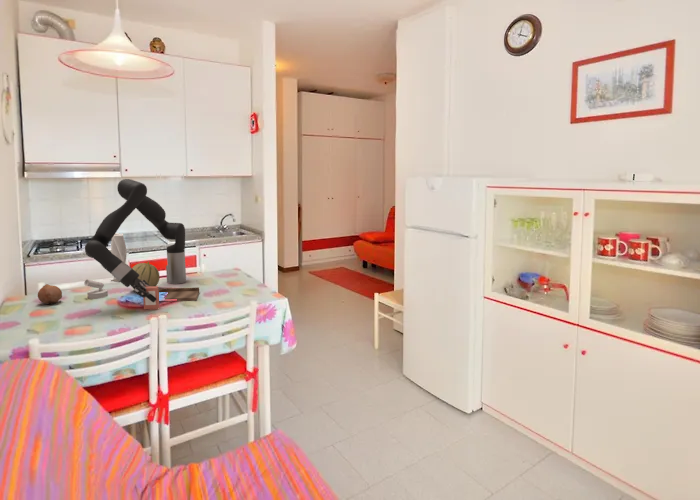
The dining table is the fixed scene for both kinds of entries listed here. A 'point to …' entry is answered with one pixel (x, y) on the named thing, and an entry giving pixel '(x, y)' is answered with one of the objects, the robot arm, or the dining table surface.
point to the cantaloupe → (147, 273)
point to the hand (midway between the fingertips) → (155, 299)
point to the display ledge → (182, 293)
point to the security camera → (97, 292)
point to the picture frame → (148, 303)
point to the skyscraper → (118, 248)
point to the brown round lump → (49, 294)
